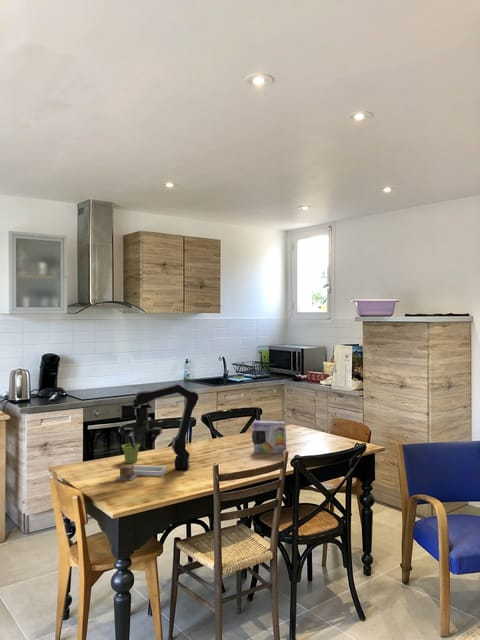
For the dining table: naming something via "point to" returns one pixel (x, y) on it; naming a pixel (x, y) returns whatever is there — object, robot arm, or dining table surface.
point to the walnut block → (126, 471)
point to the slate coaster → (127, 478)
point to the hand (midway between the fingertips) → (143, 448)
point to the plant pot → (130, 453)
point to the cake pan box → (269, 436)
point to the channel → (150, 470)
